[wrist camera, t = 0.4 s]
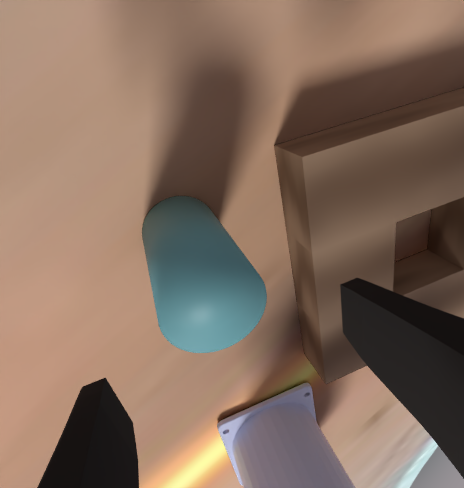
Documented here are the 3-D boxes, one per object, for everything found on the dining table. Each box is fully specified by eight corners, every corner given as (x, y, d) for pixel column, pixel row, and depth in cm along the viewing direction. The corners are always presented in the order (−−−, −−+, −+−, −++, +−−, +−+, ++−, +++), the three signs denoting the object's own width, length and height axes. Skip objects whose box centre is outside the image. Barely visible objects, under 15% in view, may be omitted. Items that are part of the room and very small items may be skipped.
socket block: (472, 280, 28) (509, 300, 25) (304, 353, 25) (325, 384, 23) (514, 72, 20) (573, 71, 17) (274, 145, 17) (302, 157, 15)
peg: (223, 250, 19) (273, 328, 13) (156, 274, 18) (177, 368, 12) (206, 185, 17) (256, 243, 11) (130, 209, 16) (140, 285, 10)
